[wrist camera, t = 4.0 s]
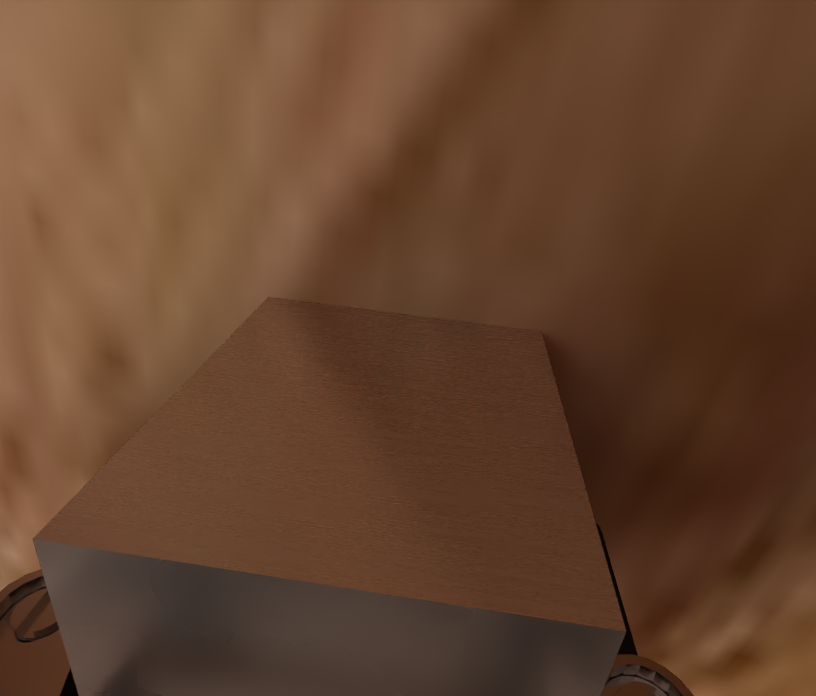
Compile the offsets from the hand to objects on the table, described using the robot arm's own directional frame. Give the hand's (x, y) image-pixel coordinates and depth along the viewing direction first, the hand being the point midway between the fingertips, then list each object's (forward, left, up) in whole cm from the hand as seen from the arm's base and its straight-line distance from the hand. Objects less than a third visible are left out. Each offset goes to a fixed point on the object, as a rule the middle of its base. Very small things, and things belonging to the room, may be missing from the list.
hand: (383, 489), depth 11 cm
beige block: (0, 0, -1) cm, 1 cm away
